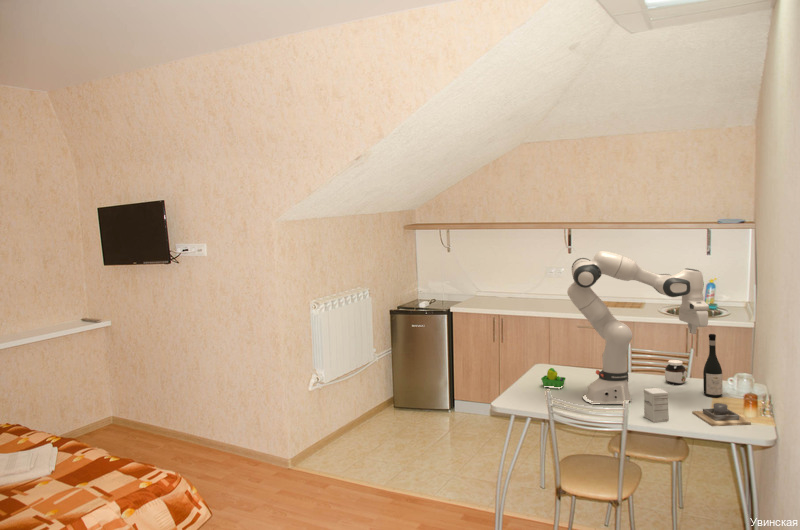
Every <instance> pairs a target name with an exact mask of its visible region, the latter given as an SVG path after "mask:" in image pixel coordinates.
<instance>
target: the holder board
mask: <svg viewBox="0 0 800 530" xmlns="http://www.w3.org/2000/svg"><path fill="white" fill-rule="evenodd" d="M727 410H728V415H719V416H716V415H714V409H713V407H712V408H702V410H693V411H692V415H694V416H695V417H697V418H699V420H702V422H705V423H706V424H708V425H709V426H712V427H723V426H725V427H726V426H746V425H748V426H749V425H750V426H751V425H752V422H751V421H749V420H748V419H746V418H744V417H742V416H740V414H738V413H736V412H734V411H733V410H730V409H729V408H727Z"/></svg>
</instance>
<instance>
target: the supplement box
mask: <svg viewBox="0 0 800 530" xmlns="http://www.w3.org/2000/svg"><path fill="white" fill-rule="evenodd" d="M643 409H644V410H643V411H644V412H643V417H644V418H647V419H648V420H649V421H651V422H653V423H659V422H660V423H661V422H662V423H663V422H669V392H668V391H666V390H664V389H662V388H660V387H654V388H653V387H652V388H644V389H643Z"/></svg>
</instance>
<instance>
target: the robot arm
mask: <svg viewBox="0 0 800 530" xmlns="http://www.w3.org/2000/svg"><path fill="white" fill-rule="evenodd" d="M571 275H572V279H573V283H572V284H570V285H569V287H568V288H567V295H568V298H569V299H570V301H571V302H572V304H573V305H574V306H575V307H576V308H577V310H578V311H579V312H580V313H581V314H582V315H583V316H584V317H585V318H586V319H587V320H588V322H589V323H590V325H591V326H592V328H593V329H595V331H596V332H597V334H598V335H599V336H600V337H601V339H603V340H605V345H604V351H603V352H602V370H598V369H596V370H595V374H596V375H598V377H597V379H595V380H594V381H593V382H591V383H589V384H588V386H587V389H586V394H587V395H586V397H587V399H589V400H591V401H593V402H591V403H600V404H623V401H624V400H629V401H630V402H632V398H631V394H630V390H629V384H628V383H629V371H628V350H629V345H630V342H631V341H632V339H633V332H632V330H631V328H630V327H629V326H628V325H627V324H626V323H623V322H622V321H619V320H618V319H617V318H616V317H615V316H614V315H613V314H612V312H611V310H609V308H608V305H606V303H605V302H604V301H603V300H602V299H601V298H600V297H599V296H598V294H596V292H594V290H593V289H592V288H591V287H592V286H593V285H595V284H596V283H597V282H598V280H599V279H601V277H602V275H605V276H608V277H611V278H613V279H617V280H621V281H626V282H628V281H636V282H639V283H642V284H644V285H647V286H651V287H652V288H653V289H654V290H655V291H656V292H657V293H659V294H661V295H663V296H667V297H671V298H677V297H681V304H680V306H679V308H678V309H679V310H678V320H679V321H681V322H684V323H687V327H688V333H690V334H692V335H695V334H696V335H697V329H698V328H707V327H708V324H709V311H708V310H710V305H709V304H708V303H706V301H705V300H704V293H703V291H704V276H703V273H702V271H700V270H698V269H694V268H688V267H687V268H683V270H681V271H680V272H678V273H675V274H673V275H672V274H669V273H654V272H652V271H649V270H646V269H644V268H642V267H640V266H639V265H638V264H637V261H634V260H633V259H630V258H629V257H627V256H624V255H621V254H619V253H615V252H612V251H607V250H600V251H598V252H597V253H596V254H595V255H594V256H593V258H592V260H591V259H589V258H586V257H580V258H577V259H576V260H575V261H574V262H573V263H572V265H571Z"/></svg>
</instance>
